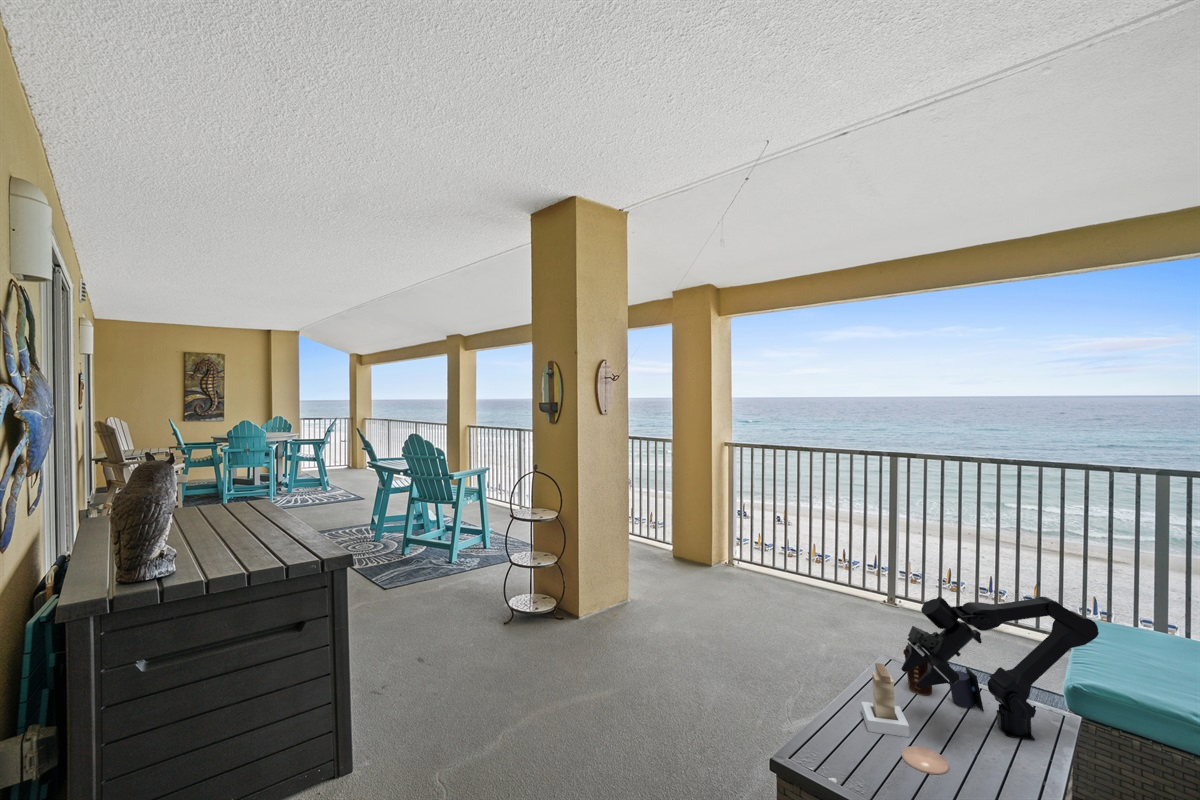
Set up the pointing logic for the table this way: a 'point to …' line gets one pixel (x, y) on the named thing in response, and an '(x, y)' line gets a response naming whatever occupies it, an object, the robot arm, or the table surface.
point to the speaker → (966, 690)
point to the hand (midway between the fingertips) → (909, 678)
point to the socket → (885, 721)
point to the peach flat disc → (925, 760)
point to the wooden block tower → (883, 693)
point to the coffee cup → (917, 676)
